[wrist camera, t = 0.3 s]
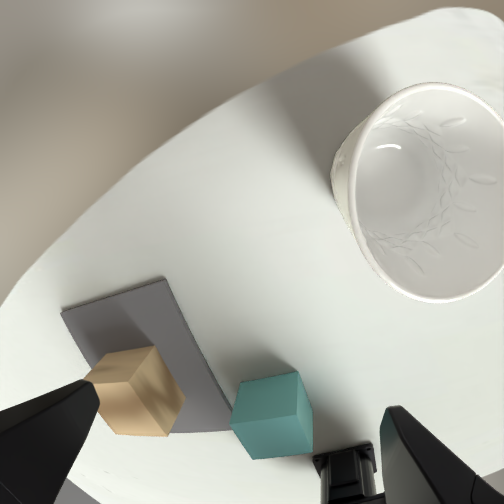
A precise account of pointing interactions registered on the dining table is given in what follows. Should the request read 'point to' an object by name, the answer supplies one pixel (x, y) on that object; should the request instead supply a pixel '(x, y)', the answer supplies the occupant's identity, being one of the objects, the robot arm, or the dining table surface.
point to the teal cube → (273, 417)
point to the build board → (166, 341)
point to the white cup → (426, 191)
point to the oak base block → (136, 392)
